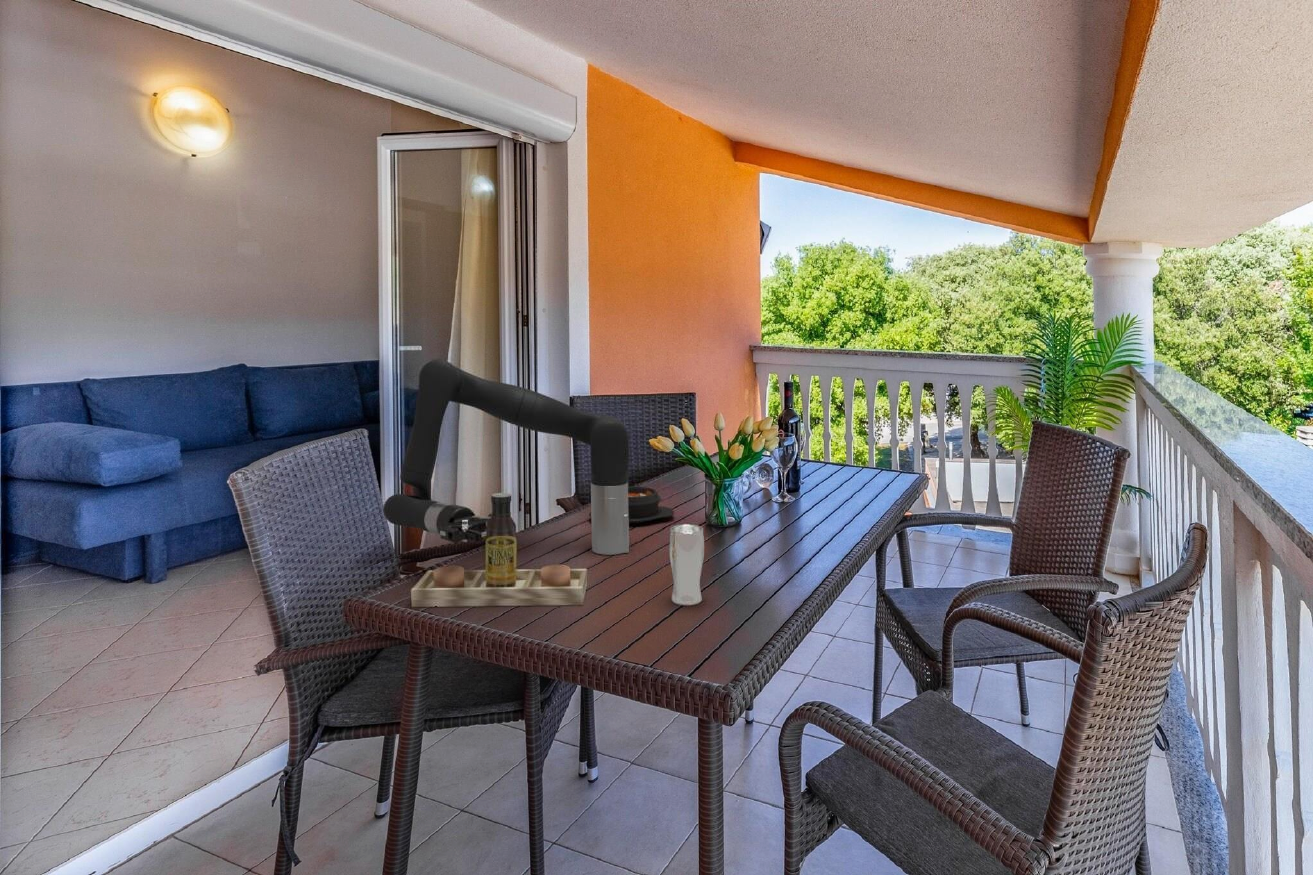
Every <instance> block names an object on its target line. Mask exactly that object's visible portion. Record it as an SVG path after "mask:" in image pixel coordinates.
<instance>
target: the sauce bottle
mask: <svg viewBox="0 0 1313 875" xmlns="http://www.w3.org/2000/svg"><path fill="white" fill-rule="evenodd" d="M490 498H491V499H490V501H491V508H492V509H491V511H492V512H491V514H492V516H491V518H490V520H489V522H488V524H486V531H487V532H486V533H487V534H485V535H486V536H485V537H486V538H485V570H486V587H487V588H488V587H515V585H516V570H517V525H516V523H515V521H514V519H513V518H512V512H511V502H512V494H511V493H507V492H496V493H492V494H491V497H490Z"/></svg>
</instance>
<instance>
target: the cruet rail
mask: <svg viewBox="0 0 1313 875" xmlns="http://www.w3.org/2000/svg"><path fill="white" fill-rule="evenodd" d="M587 587H588V570H587V568H571V567H570V566H569V565H565V564H550V565H546V566H543V567H541V569H540V568H539V569H537V568H535V569H534V568H533V569H532V568H531V569H523V568H522V569H516V585H515V587H488V588H487V587H486V569H464V567H462V566H460V565H445V566H444V565H443V566H441V567H437V568H435V569H434V570H431V569H430V570H427V571H426V573H425V574H424V575H423V576H422V577H421V578H420V579H419V580H418V582H417V583H416V584H415V585H414V586H413V587H411V589H410V595H411V596H410V598H411V607H412V608H420V607H421V608H425V607H427V608H428V607H430V608H431V607H432V608H433V607H435V606H437V608H439V607H441V608H442V607H443V608H444V607H514V606H515V607H518V606H522V607H525V606H528V607H529V606H584V600H585V597H586V590H587ZM435 608H436V607H435Z"/></svg>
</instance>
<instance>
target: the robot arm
mask: <svg viewBox="0 0 1313 875" xmlns="http://www.w3.org/2000/svg"><path fill="white" fill-rule="evenodd" d="M417 390H418V391H417V402H416V409H415V410H416V411H415V416H414V421H413V425H412V429H411V433H410V436H409V440H408V444H407V447H406V451H405V455H404V458H403V462H402V467H401V470H400V471H401V472H400V476H399V477H400V478H399V479H400V481H401V483H403V484H406V485H407V486H410V487H412V494H411V495H410V494H403V493H395V494H393V495H391V496H389V497H388V498H387V499H385V502H384V504H383V515H384V517H385V519H386V520H387V521H388V522H389V523H390V524H393V525H396V526H402V527H408V528H409V527H410V528H416V529H419V530H422V531H424V532H428V533H431V534H434V535H435V536H437V537H440V539H442V540H445V541H448V542H451V543H453V544H458V543H460V542H464V543H465V542H472V543H475V544H481V543H482V542H483V537H482V536H483V535H486V534H487V533H486V532H487V531H486V526H487V524H488V522H489V520H490V518H491V516H492V513H489V514H487V515H488V516H480V515H476V514H475V513H474V511H473V510H472V509H471V508H469V507H466V506H462V505H457V504H453V503H449V502H440V501H437V500H432V478H433V473H434V470H435V466H436V461H437V457H438V452H439V444H440V439H441V438H440V437H441V430H442V424H443V420H444V417H445V413H446V410H447V408H448V405H449V404H450V402H451V403H457V404H461V405H463V406H464V405H465V406H469V407H471V408H473V409H474V408H475V409H478V410H480V411H482V412H484V413H486V414H488V415H490V416H492V417H494V418H496V419H499V420H501V421H503V422H506V423H508V424H510V425H514V426H517V427H520V428H522V429H525V430H529V431H534V432H537V433H542V434H550V435H558V436H563V437H564V436H565V437H568V438H571V439H574V440H577V441H579V442H581V443H583V444H586V445H588V446H590V506H591V508H590V509H591V510H590V512H591V517H590V518H591V551H592V552H593V553H595V554H598V555H603V556H604V555H606V556H607V555H608V556H609V555H610V556H612V555H619V554H625V553H626V554H628V553H629V552H630V551H629V550H630V529H629V527H630V524H629V510H628V487H629V471H630V442H629V440H630V438H629V437H630V436H629V432H628V430H627V427H626V426H625V425H624V423H622V421H620V419H618V418H615V417H612V416H608V415H607V416H606V415H602V414H598V413H595V412H594V413H593V412H589V411H585V410H581V409H579V408H575V407H573V406H571V405H569V404H566V403H564V402H562V401H560V400H557V399H555V398H552V397H550V396H548V395H545V394H543V393H540V392H537V391H534V390H531V389H528V388H525V387H522V386H518V385H514V384H510V383H504V382H499V381H493V380H488V379H485V378H482V377H479V376H477V375H474V374H472V373H470V372H468V371H465V370H463V369H460V368H459V367H456V366H455V365H454V364H452V363H451V362H449V361H447V360H444V359H439V358H438V359H432V360H430V361H428V362H426V363H425V364H424V365H423V366H422V368H421V369H420V371H419V374H418V389H417ZM482 534H483V535H482Z"/></svg>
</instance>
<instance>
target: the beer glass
mask: <svg viewBox="0 0 1313 875" xmlns="http://www.w3.org/2000/svg"><path fill="white" fill-rule="evenodd" d="M669 533H670V534H669V560H670V566H671V572H672V578H673V588H672V589H673V590H672V594H671V602H673V603H674V604H676V605H679V606H695V605H698V604H700V603H701V602H702V600H703V599H702V594H701V584H700V583H701V577H702V576H701V574H702V570H703V564H704V557H705V538H704V528H703V527H702V526H700V525H696V524H677V525H674V526H672V527H670V532H669Z"/></svg>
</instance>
